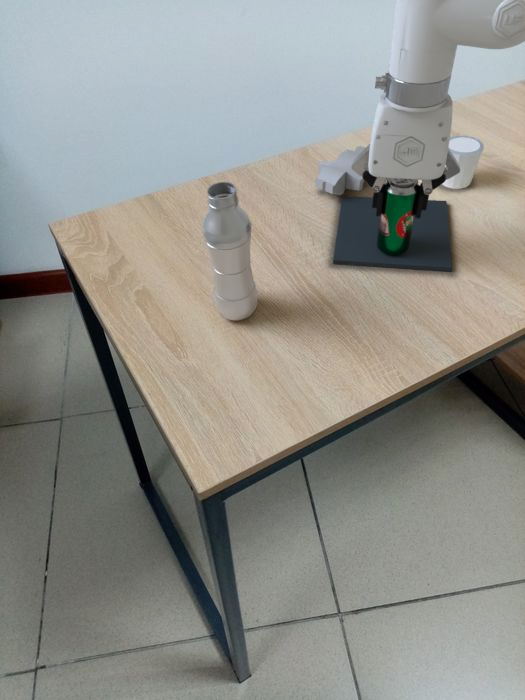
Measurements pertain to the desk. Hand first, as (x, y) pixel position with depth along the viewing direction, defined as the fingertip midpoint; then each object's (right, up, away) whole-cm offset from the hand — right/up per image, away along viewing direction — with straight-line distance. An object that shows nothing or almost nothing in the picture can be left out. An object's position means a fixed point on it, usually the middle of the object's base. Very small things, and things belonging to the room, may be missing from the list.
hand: (398, 211), depth 79 cm
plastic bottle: (-24, -15, -1) cm, 28 cm away
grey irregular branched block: (-4, +10, +19) cm, 22 cm away
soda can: (0, -5, +5) cm, 7 cm away
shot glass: (+15, +10, +18) cm, 26 cm away
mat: (+1, -1, +9) cm, 9 cm away
